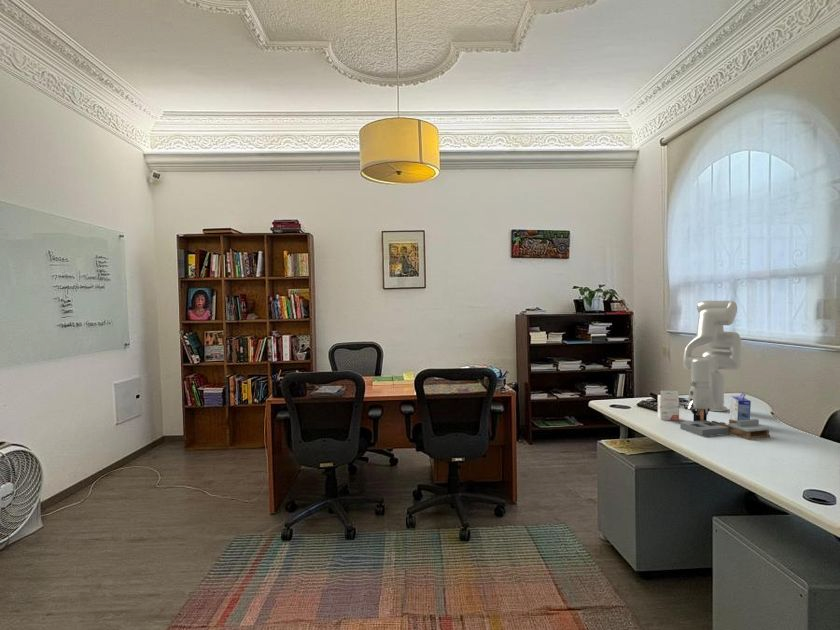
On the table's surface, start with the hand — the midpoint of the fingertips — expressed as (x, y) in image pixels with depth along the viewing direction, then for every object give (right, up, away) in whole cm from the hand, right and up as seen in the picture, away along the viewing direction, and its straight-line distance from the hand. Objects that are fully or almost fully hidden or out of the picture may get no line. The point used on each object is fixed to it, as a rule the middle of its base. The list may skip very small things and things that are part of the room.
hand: (699, 422), depth 206 cm
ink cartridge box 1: (-9, -1, +10) cm, 14 cm away
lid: (+11, +2, -16) cm, 20 cm away
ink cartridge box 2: (+20, -1, +1) cm, 20 cm away
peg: (0, -1, 0) cm, 1 cm away
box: (+10, -2, -12) cm, 16 cm away
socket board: (-5, -2, -10) cm, 11 cm away
